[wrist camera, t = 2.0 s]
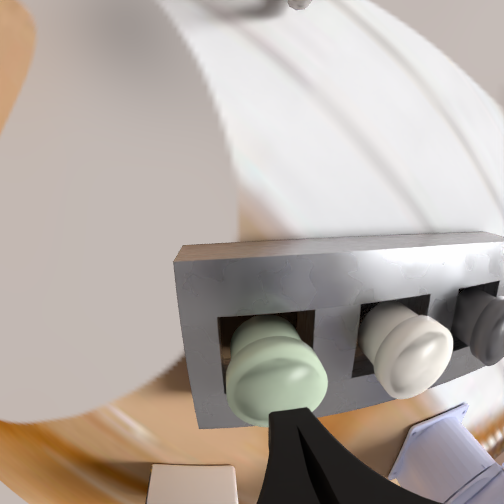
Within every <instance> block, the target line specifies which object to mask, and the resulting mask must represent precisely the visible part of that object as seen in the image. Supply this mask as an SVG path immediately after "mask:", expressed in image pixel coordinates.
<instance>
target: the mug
mask: <svg viewBox="0 0 504 504" xmlns="http://www.w3.org/2000/svg"><path fill="white" fill-rule="evenodd" d="M311 1H312V0H288V4H289V6H290V7H291V8H293V9H295V10H302V9H305V8H306V7H307V6H308V5H309V4H310V3H311Z"/></svg>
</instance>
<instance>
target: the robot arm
mask: <svg viewBox="0 0 504 504" xmlns="http://www.w3.org/2000/svg"><path fill="white" fill-rule="evenodd" d="M468 407H469V405H468V404H467V403H466V404H464V405H461V406H459V407H457V408H455V409H453V410H450V411H448V412H446V413H444V414H441V415H439V416H436V417H434V418H431V419H429V420H426V421H424V422H421V423H419V424H416V425H414V426H412V427H411V428H410V430H409V433H408V435H407V437H406V440H405V442H404V444H403V447H402V449H401V451H400V453H399V455H398V457H397V460H396V462H395V464H394V466H393V468H392V470H391V472H390V474H389V476H388V479H389V480H392V479H395V478H396V479H397V480H398V482H399V484H400V486H401V487H400V486H398V485H396V484H394V483H393V482H391V481H389V480H388V479H386V478H384V477H383V476H381V475H379V474H378V473H376V472H375V471H373V470H372V469H371V468H369V467H368V466H366V465H365V464H364V463H363V462H361V461H360V460H359V459H358V458H356V457H355V456H354V455H353V454H352V453H350V452H349V451H348V450H347V449H346V448H345V447H344V446H343V445H342V444H341V443H340V442H339V441H338V440H337V439H336V438H334V436H333V435H332V434H331V433H330V432H329V431H328V430H327V429H326V428H325V427H324V426H323V425H322V424H321V422H320V421H319V420H318V419H317V418H316V417H315V415H314V414H313V413H312V412H311V410H310V409H309V408H307V407H303V408H297V409H290V410H282V411H274V412H271V413H270V414H269V458H268V464H267V469H266V473H265V478H264V482H263V485H262V489H261V492H260V495H259V498H258V502H257V504H504V469H503V468H504V463H503V464H502V466H500V465H499V464H497V463H496V462H495V461H494V459H493V458H492V457H491V456H490V455H489V454H488V453H487V451H486V450H485V449H484V448H483V447H482V446H481V445H480V444H479V442H478V441H477V440H476V439H475V438H474V437H473V436H472V435H471V433H470V432H469V431H468V430H467V429H466V428H465V427H464V426H463V425H462V423H461V422H462V420H463V418H464V416H465V414H466V412H467V409H468ZM502 467H503V468H502Z"/></svg>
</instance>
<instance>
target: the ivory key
mask: <svg viewBox="0 0 504 504" xmlns="http://www.w3.org/2000/svg"><path fill="white" fill-rule="evenodd" d="M357 341H358V345H359V347H360V349H361V350H362V352H363V353H364V354H365V355H366V357H367V358H368V359H369V360H370V362H371V363H372V364H373V365H374V374H375V376H376V378H377V380H378V381H379V382H380V384H381V385H382V386H383V388H384V389H385V390H386V392H387V393H388V394H389V395H390V396H391V397H393V398H396V399H407V398H411V397H414V396H416V395H418V394H420V393H422V392H424V391H425V390H426V389H428V388H429V387H430V386H431V385H433V384H434V383H435V382H436V381H437V379H438V378H439V377H440V376H441V375H442V373H443V372H444V370H445V369H446V367H447V365H448V363H449V361H450V358H451V355H452V351H453V338H452V335H451V333H450V331H449V330H448V329H447V328H445V327H444V326H443V325H441V324H440V323H438V322H437V321H436V320H434V319H433V318H431V317H429V316H425V315H417V314H416V313H415V312H413V311H412V310H410V309H409V308H408V307H406V306H405V305H403V304H402V303H400V302H398V301H386V302H383V303H380V304H378V305H377V306H375V307H374V308H373V309H371V310H370V311H369V312H368V313H367V314H366V316H365V317H364V318H363V320H362V322H361V324H360V326H359V329H358V335H357Z"/></svg>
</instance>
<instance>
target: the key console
mask: <svg viewBox="0 0 504 504" xmlns="http://www.w3.org/2000/svg"><path fill="white" fill-rule="evenodd" d="M173 263H174V272H175V282H176V291H177V299H178V307H179V315H180V323H181V330H182V337H183V343H184V350H185V356H186V363H187V369H188V374H189V380H190V386H191V391H192V397H193V402H194V407H195V412H196V417H197V422H198V426H199V429H215V428H234V427H248V426H255V425H252V424H249V423H247V422H245V421H243V420H241V419H240V418H238V417H237V416H236V415H235V414H234V413H233V412H232V410H231V409H230V407H229V405H228V402H227V393H226V371H227V368H228V365H229V363H230V361H231V359H223V353H222V342H221V331H220V319H219V317H229V316H244V315H258V314H271V313H283V312H294V311H297V333H298V335H299V337H300V339H301V341H303V342H305V343H306V344H307V345H309V346H310V347H311V348H312V349H313V350H314V352H315V353H316V355H317V357H318V359H319V360H320V362H321V364H322V366H323V368H324V370H325V371H326V374H327V379H328V387H327V391H326V394H325V396H324V398H323V400H322V402H321V403H320V404H319V406H318V407H317V408H316V409H315V410H314V411H313V412H312V413H313V414H314V415H315V417H316V418H317V417H323V416H328V415H333V414H338V413H343V412H348V411H352V410H356V409H361V408H365V407H369V406H373V405H377V404H380V403H384V402H388V401H391V400H395V399H396V398H393V397H391V396H390V395H389V394H388V393H387V392H386V390H385V389H384V388H383V386H382V385H381V384H380V382H379V381H378V380H377V378H376V376H375V374H374V365H373V364H372V363H371V362H370V360H369V359H368V358H367V357H366V355H365V354H364V353H363V352H362V350H361V349H360V347H359V345H358V344H356V343H357V335H358V327H359V318H360V309H361V304H365V303H373V302H380V301H387V300H394V299H397V301H398V302H400V303H402V304H403V305H405V306H406V307H408V308H409V309H410V310H412V311H413V312H415V313H416V314H417V315H425V316H429V317H431V318H433V319H434V320H436V321H437V322H438V323H440V324H441V325H443V326H444V327H445V328H447V329H448V330H449V331H450V330H451V326H452V322H453V317H454V312H455V307H456V302H457V297H458V291H459V289H460V288H465V287H466V288H468V287H476V288H478V289H480V290H482V291H484V292H486V293H488V294H490V295H492V296H494V297H498V296H504V237H502V236H499V235H495V234H492V233H488V232H464V233H434V234H407V235H381V236H358V237H335V238H313V239H292V240H272V241H252V242H233V243H215V244H197V245H183V246H182V248H181V250H180V251H179V253H178V255H177V256H176V258H175V260H174V261H173ZM450 333H451V332H450ZM451 335H452V338H453V351H452V355H451V358H450V361H449V363H448V365H447V367H446V369H445V370H444V372H443V373H442V375H441V376H440V377H439V378H438V379H437V381H436V382H435V383H434V384H433V385H431V386H430V387H429V388H432V387H435V386H437V385H440V384H443V383H446V382H448V381H451V380H453V379H456V378H458V377H461V376H463V375H466V374H468V373H470V372H473V371H475V370H477V369H480V368H482V367H484V366H486V365H485V364H483V363H482V362H481V361H480V360H478V359H477V358H476V357H474V356H473V355H472V353H471V351H470V347H469V346H468V345H466V344H465V343H464V342H462V341H461V340H460V339H458V338H457V337H456V336H454V335H453V334H452V333H451ZM429 388H428V389H429Z"/></svg>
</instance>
